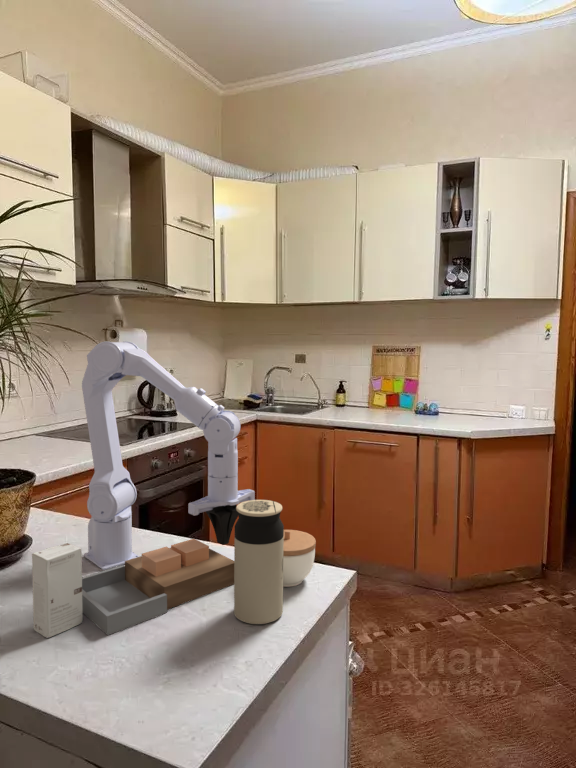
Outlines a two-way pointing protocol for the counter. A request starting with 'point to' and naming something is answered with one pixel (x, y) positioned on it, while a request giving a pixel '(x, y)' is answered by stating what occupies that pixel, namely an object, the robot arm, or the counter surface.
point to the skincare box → (57, 589)
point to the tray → (117, 601)
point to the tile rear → (191, 551)
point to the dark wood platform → (182, 579)
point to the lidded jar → (297, 556)
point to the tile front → (161, 561)
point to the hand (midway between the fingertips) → (222, 542)
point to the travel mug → (258, 562)
